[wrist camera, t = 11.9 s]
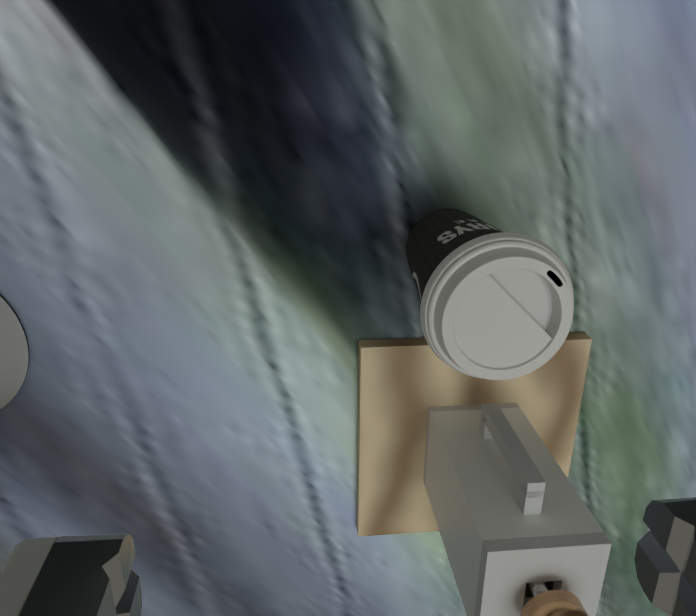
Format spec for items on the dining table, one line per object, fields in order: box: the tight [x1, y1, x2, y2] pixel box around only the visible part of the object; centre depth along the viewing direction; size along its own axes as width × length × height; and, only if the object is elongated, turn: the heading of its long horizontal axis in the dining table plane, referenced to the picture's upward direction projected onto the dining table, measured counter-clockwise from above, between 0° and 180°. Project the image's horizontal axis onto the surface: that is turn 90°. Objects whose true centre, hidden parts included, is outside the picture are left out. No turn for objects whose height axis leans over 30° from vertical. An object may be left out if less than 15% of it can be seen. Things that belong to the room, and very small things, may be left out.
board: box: [356, 332, 592, 536], centre depth 56 cm, size 20×20×2 cm
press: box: [423, 403, 612, 616], centre depth 47 cm, size 8×11×17 cm
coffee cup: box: [406, 209, 574, 380], centre depth 42 cm, size 10×10×15 cm
